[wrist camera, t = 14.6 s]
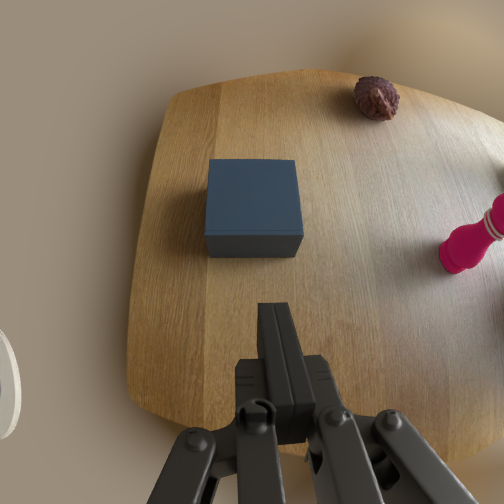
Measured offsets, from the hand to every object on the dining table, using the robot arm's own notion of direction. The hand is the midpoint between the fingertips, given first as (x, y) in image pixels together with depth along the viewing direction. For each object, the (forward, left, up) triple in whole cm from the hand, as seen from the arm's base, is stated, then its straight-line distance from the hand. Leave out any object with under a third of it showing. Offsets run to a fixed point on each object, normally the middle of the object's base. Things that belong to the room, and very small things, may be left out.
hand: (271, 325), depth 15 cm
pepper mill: (+33, -19, -23) cm, 44 cm away
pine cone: (+56, +10, -23) cm, 61 cm away
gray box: (+10, +8, -20) cm, 24 cm away
